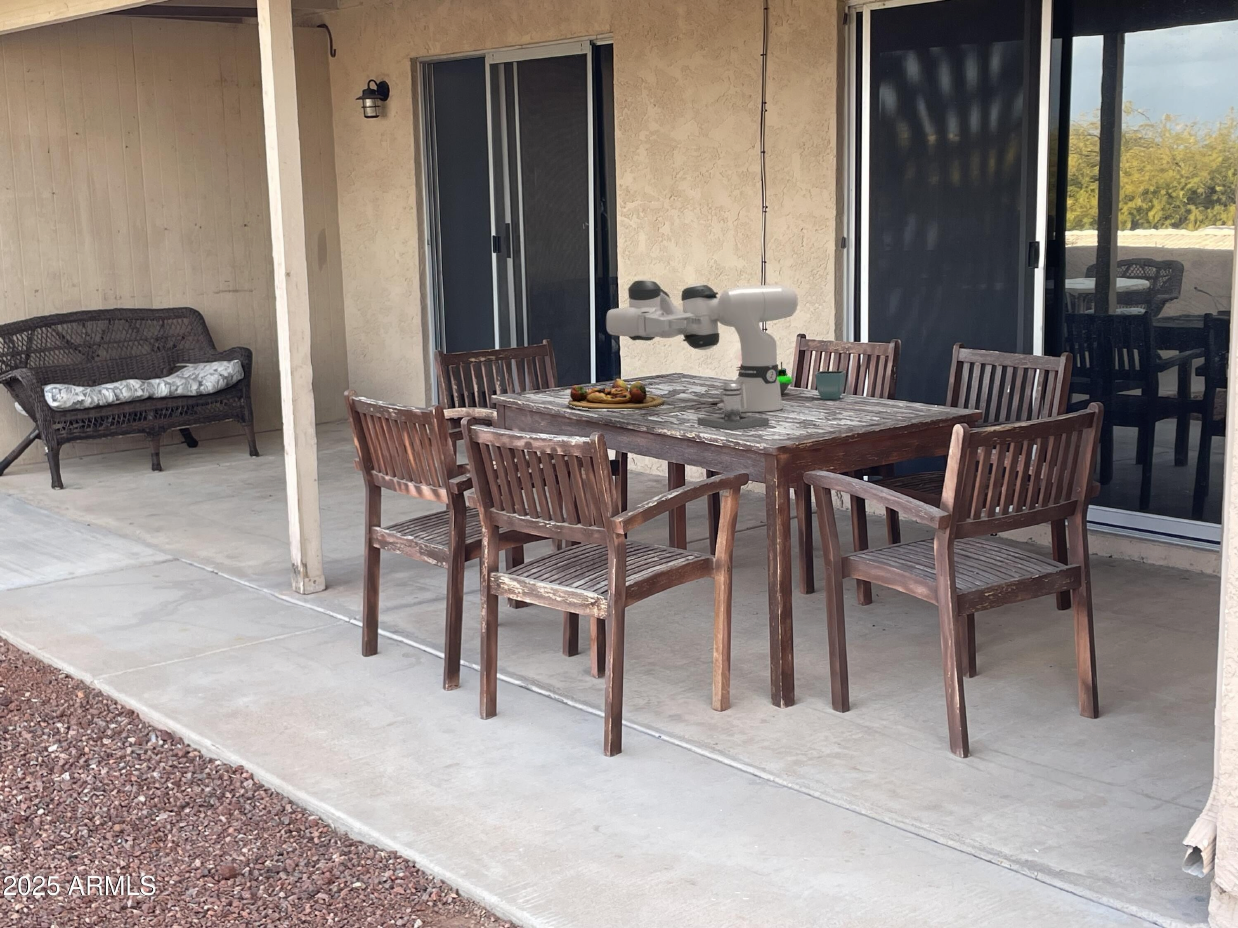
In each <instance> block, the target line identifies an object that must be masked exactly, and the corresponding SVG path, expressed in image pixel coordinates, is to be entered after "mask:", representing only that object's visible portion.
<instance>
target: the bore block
mask: <svg viewBox="0 0 1238 928" xmlns="http://www.w3.org/2000/svg"><path fill="white" fill-rule="evenodd" d="M769 419H770V418H769V417H764V416H756V415H750V414H745V413H744V414H743V413H741V419H738V420H724V413H723V414H716V415H710V416H701V417H697V422H696V423H697V425H699V426H704V427H711V428H717V429H722V430H723V429H724V430H730V431H732V430H733V431H734V430H740V429H750V428H756V427H762V426H769V425H770V424H769V422H770V421H769Z"/></svg>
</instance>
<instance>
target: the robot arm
mask: <svg viewBox="0 0 1238 928" xmlns="http://www.w3.org/2000/svg"><path fill="white" fill-rule="evenodd" d="M627 291H628V307H620V308H619V307H617V308H612V309H610V310H608V311H607V313H606V316H605V328H606V331H607V333H608V334H609V335H613V336H618V337H628V338H629V339H630V340H632V341H647V342H650V341H654V339H655V338H660V339H672V338H675V337H676V338H677V337H678V336H683V338H682V341H683V342H686V343H687V345H688V346H689V347H691V348H692V349H694V350H698V351H707V350H710V349H712V348H714V347H715V346H717V345H718V344H719V342H720V333H719V324H720V325H722V326H725V327H729V328H734V330H735V331H736V334H737V336H738V338H739V342H740V343H739V344H740V351H741V365H740V366H736V371H737V372H738V375H737V377H736V379H735V380H734V381H733V382H732V383H738V384H740V388H741V413H743V412H744V413H745V412H746V413H748V412H751V413H753V412H770V411H771V412H772V411H773V412H774V411H779V410H782V409H783V407H784V406H785V405H784V402H783V401H782V394H781V391H780V383H779V381H778V379H777V376H778V371H779V369H780V368H779V364H778V362H777V361H778V360H777V359H778V357H777V355H778V354H777V350H778V349H777V340H776V338H775V337H774V336H773V335H772V334H770V333H768V332H766V331H764V330H762V328H761V326H760V323H767V322H773V321H778V320H783V319H786V318H787V319H788V318H790V317H793V316H794V314H795V313H796V311H797V308H798V304H799V301H798V296H797V293H796V291H795V290H794V288H792V287H791V286H787V285H786V286H785V285H780V284H766V285H765V284H764V285H762V284H761V285H747V286H746V285H742V286H735V287H731V288H728V289H727V288H726V289H724V290H723V291H722V292H721V293H720V295H719V292H718V291H715V290H714V289H713V287H711V286H709V285H707V284H702V283H694V284H690V285H688V286H687V287H685V288H683V290H682V291H681V298H680V299H681V301H682V309H681V308H680V307H678V306H676V305H675V304H674V303H673V300H672V299H671V297H670V294H669V293H668V292H667V291H665V289H663V288H662V287H661V286H660V284H658V283H657V281H654V280H650V279H639V280H634V281H633V282H632V283H631V284H630V286H629V287H628V289H627ZM717 295H719V298H718V296H717ZM716 408H720V409H723V410H724V402H721V403H717V405H716Z"/></svg>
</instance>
